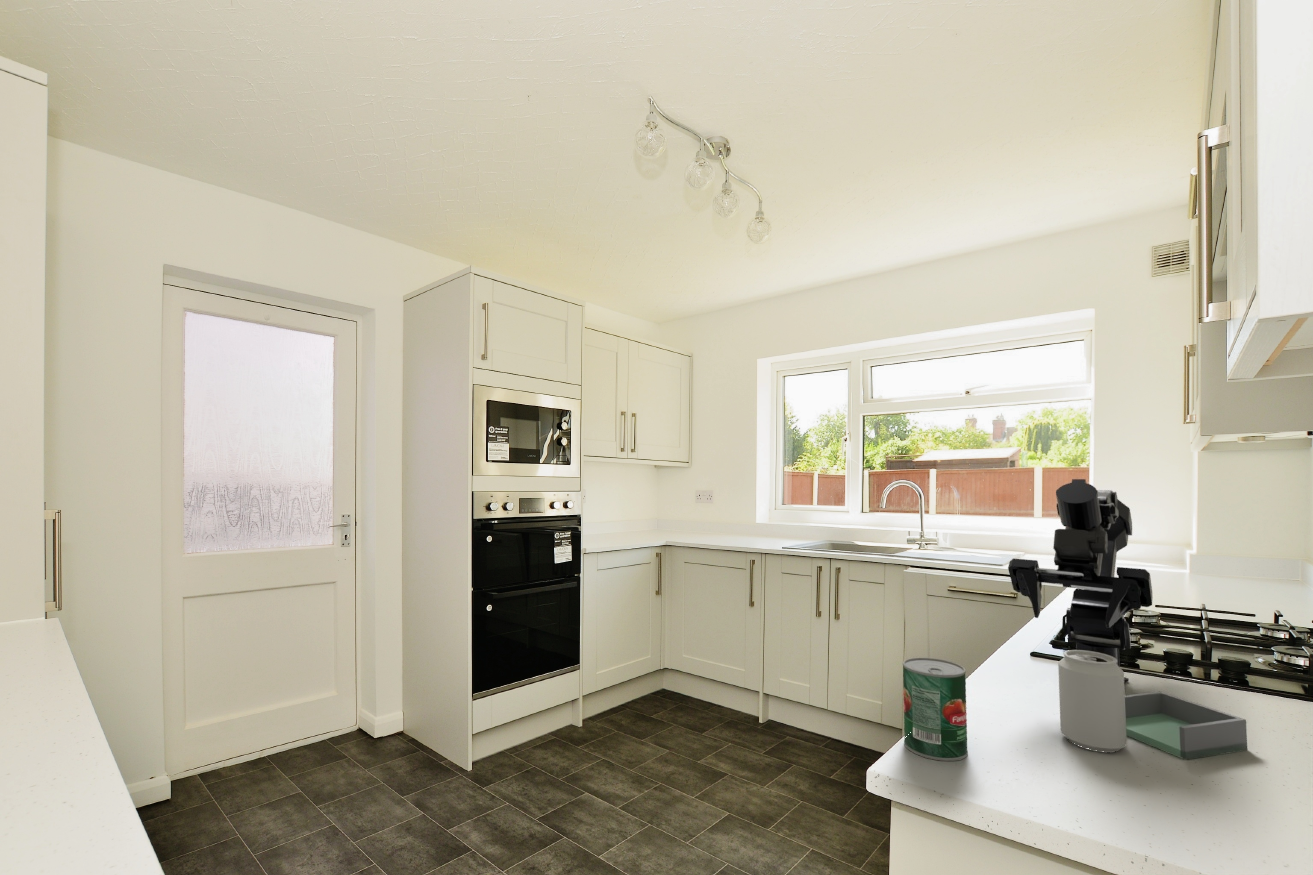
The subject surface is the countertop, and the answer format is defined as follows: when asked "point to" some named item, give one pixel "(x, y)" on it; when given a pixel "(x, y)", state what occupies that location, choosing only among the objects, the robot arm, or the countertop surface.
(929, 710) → the canned tomato
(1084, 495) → the robot arm
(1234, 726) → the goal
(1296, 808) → the countertop surface
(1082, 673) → the can
